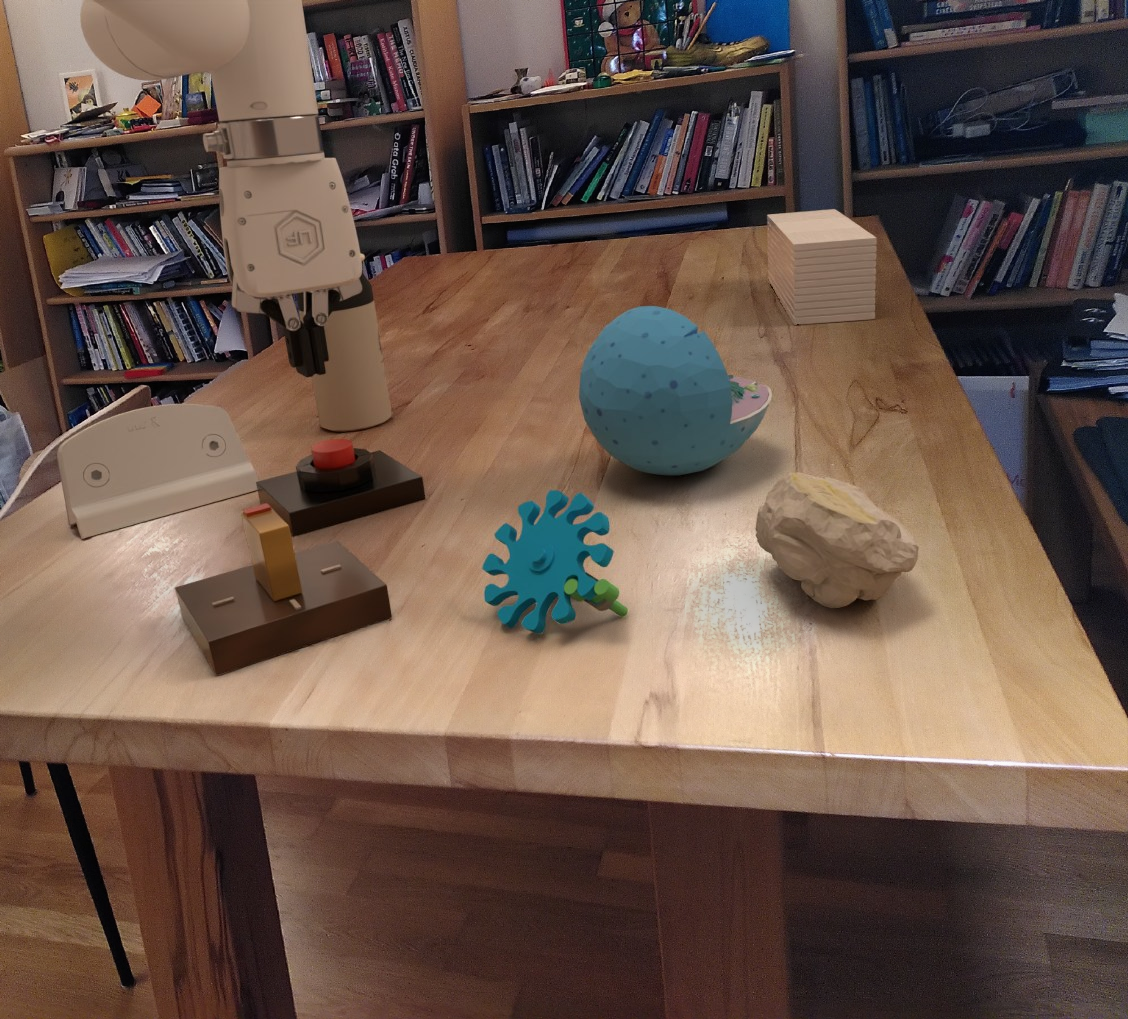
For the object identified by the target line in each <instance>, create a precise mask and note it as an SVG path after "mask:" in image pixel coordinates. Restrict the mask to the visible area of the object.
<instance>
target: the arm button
mask: <svg viewBox="0 0 1128 1019" xmlns="http://www.w3.org/2000/svg"><path fill="white" fill-rule="evenodd" d="M354 448H355V447H354V444H353V441H352V440H350V439H347V438H335V439H334V438H333V439H328V440H324V441H323V440H322V441H320V442H317V443H315V444H314V445H312V446H311V448H310V452H311V455H312V457H313V463H314V468H321V469H327V468H337V467H341V466H345V465H349V464H351V463H353V462H354V461H356V460H355V454H354Z"/></svg>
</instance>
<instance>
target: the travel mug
mask: <svg viewBox="0 0 1128 1019" xmlns="http://www.w3.org/2000/svg"><path fill="white" fill-rule="evenodd" d="M360 254H361V261H362V274H361V276H360V278H359V279H360V282H361V284H362V291H361V292H360V293H359V294H357V295H354V296H352V297H350V298H347V299H345V300H342V301H340V302H339V303H338V304H337V306H336V307H335V309H334V310H333V311H332V313H331V314H330V316H329V317H328V322H327V324H326V325H324V329H325V336H326V342H327V348H328V355H329V361H327V362H324V363H325V370H326V374H323V375H318V374H315V375H313V377H310V378H311V384H312V389H313V396H314V400H315V405H316V411H317V416H318V422H319V426H320V427H321V428H323V429H325V430H328V431H331V432H336V433H349V432H356V431H363V430H368V429H372V428H374V427H377V426H380V425H382V424H384V423H385V422H386V421H388V420H389V419H390V418H391V417H392V416H393V412H392V406H391V398H390V393H389V389H388V381H387V374H386V368H385V362H384V356H383V349H382V344H381V343H382V342H381V336H380V335H381V334H380V330H379V324H378V323H379V322H378V316H377V311H376V304H375V298H374V292H373V286H372V283H371V282H370V281H369V280H368V278H367V276H366V275H365V274H364V260H365V259H366V256H365V254H364V253H361V252H360ZM295 297H296V304H297V310H298V315H299V319H300V320H301V321H302V323H304V322H303V317H304V292H301V293H295Z"/></svg>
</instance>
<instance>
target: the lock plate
mask: <svg viewBox="0 0 1128 1019" xmlns="http://www.w3.org/2000/svg"><path fill="white" fill-rule="evenodd" d="M294 553H295V558H296V562H297V567H298V572H299V577H300V582H301V587H302V593H300V594H297V595H294V596H290V597H287V598H284V599H280V600H277V601H273V599H272V598H271V597H270V595H269V594H268V593H267V592H266V590H265V589H264V588H263V587H262V585H261V584H260V583H259V581H258V580H257V579H256V578H255V574H254V570H253V565H252V564H250V565H247V566H243V567H239V568H237V569H236V568H235V569H233V570H229V571H226V572H224V573H219V574H216V575H213V576H209V577H206V578H205V577H204V578H202V579H199V580H195V581H192V582H189V583H185V584H182V585H178V586H175V587H174V591H175V594H176V599H177V602H178V606H179V611H180V614H181V618H182V620H183V622H184V624H185V626H186V627H187V628H188V630H189V632H190V633H191V635H192V637H193V638H194V640H195V642H196V644H197V646H198V647H199V648H200V650H201V652H202V654H203V656H204V657H205V658H206V661H207V662H208V663H209V666H210V668H211V669H212V670H213V672H214V674H215V676H221V675H223V674H226V673H231V672H232V671H233V672H234V671H236V670H239V669H241V668H245V667H247V666H250V665H253V664H257V663H259V662H262V661H266V660H268V659H272V658H274V657H278V656H280V655H283V654H286V653H289V652H292V651H295V650H298V649H301V648H304V647H307V646H311V645H313V644H316V643H319V642H323V641H325V640H328V639H331V638H334V637H337V636H340V635H343V634H346V633H349V632H352V631H355V630H358V629H361V628H364V627H367V626H369V625H372V624H373V625H374V624H376V623H379V622H383V621H385V620H388V619H390V618H391V619H392V618H393V613H392V608H391V601H390V597H389V596H390V595H389V591H388V584H386V583H385V582H384V581H383V580H382V579H381V578H380V577H379V576H377V575H376V574H375V572H373V571H372V570H371V569H369V567H367V566H366V565H365V564H364V563H363V562H362V561H361V560H360V559H359V558H358V557H356V556H355V555H354V554H353V553H352V552H351V551H350V550H349V549H347V548H346V547H345V546H344V545H343V544H342V543H340V541H338V540H337V539H336V540H332V541H328V542H325V543H322V544H318V545H316V546H312V547H309V548H305V549H301V550H298V551H294Z"/></svg>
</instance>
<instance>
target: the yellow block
mask: <svg viewBox="0 0 1128 1019" xmlns="http://www.w3.org/2000/svg"><path fill="white" fill-rule="evenodd" d="M240 515H241V519H242V525H243V529H244V533H245V538H246V542H247V545H248V546H247V547H248V551H249V554H250V555H249V556H250V560H251V565H253V570H254V574H255V578H256V579H257V580H258V581H259V583H260V584H261V585H262V587H263V588H264V589H265V590H266V592H267V593H268V594H269V595H270V597H271V598H272V599H273V601H277V600H280V599H284V598H287V597H290V596H294V595H297V594H300V593H302V587H301V582H300V577H299V572H298V567H297V562H296V558H295V548H294V543H293V539H292V535H291V533H290V528H289V525H288V524H287V523H286V522H285V521H284V520H283V519H282V518H281V517H280V516H279V515H278V514H277V513H276V512H275V511H274V510H273V509H272V508H271V507H270V505H269V504H268V503H265V504H258V505H255V506H254V505H253V506H250V507H246V508H242V512H241V513H240Z"/></svg>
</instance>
